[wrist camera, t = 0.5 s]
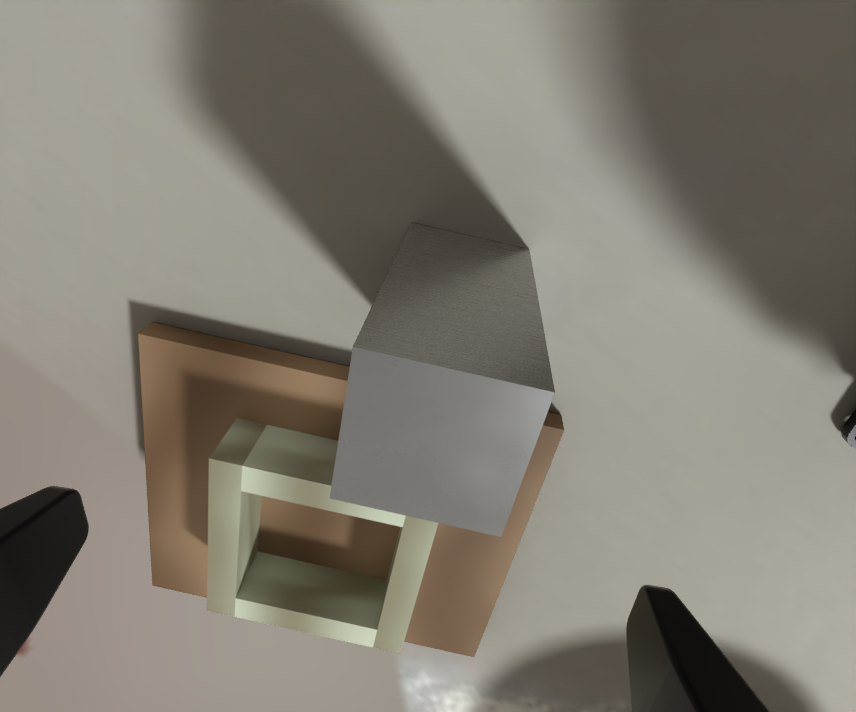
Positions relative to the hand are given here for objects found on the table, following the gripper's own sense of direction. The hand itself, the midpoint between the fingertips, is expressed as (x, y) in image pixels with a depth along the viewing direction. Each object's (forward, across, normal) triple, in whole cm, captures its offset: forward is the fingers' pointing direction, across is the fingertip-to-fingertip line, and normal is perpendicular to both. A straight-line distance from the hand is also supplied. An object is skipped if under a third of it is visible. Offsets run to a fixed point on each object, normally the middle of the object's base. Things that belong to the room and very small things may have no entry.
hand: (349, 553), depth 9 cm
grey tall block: (+12, -1, 0) cm, 12 cm away
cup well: (+12, +4, +11) cm, 17 cm away
